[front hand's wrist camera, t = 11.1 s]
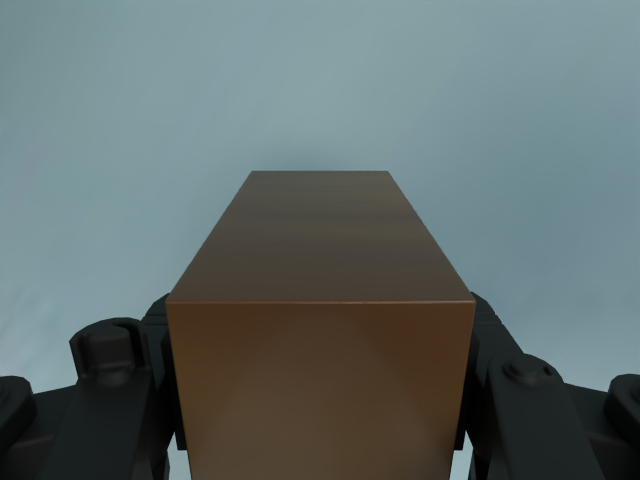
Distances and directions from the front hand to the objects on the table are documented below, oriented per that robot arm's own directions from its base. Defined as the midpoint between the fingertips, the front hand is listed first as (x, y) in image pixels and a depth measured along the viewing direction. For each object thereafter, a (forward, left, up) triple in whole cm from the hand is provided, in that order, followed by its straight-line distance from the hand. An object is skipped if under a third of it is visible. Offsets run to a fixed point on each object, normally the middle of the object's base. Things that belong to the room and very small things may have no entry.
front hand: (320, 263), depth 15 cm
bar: (+10, +2, -1) cm, 10 cm away
